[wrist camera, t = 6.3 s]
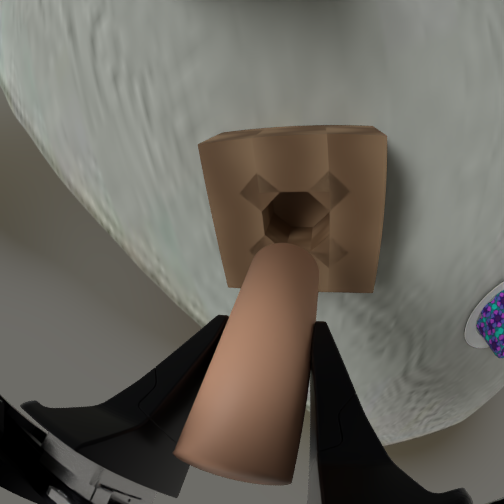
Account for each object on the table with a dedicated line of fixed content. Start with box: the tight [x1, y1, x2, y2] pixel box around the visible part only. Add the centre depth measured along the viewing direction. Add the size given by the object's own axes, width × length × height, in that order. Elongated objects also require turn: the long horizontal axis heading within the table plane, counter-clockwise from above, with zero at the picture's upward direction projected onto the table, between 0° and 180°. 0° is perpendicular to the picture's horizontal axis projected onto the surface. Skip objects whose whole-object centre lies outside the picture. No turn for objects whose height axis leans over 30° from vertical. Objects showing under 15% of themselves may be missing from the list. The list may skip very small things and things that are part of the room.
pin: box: [173, 243, 319, 485], centre depth 9 cm, size 3×3×9 cm
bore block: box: [198, 125, 387, 293], centre depth 19 cm, size 11×11×4 cm
